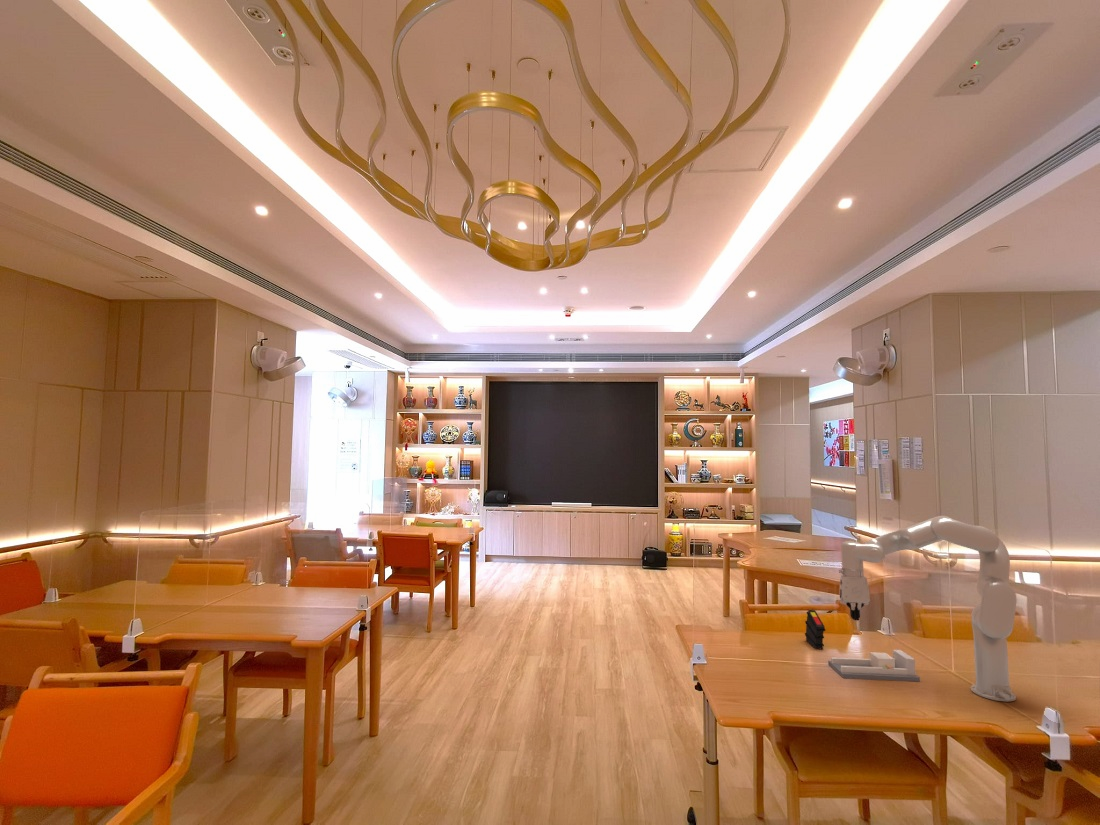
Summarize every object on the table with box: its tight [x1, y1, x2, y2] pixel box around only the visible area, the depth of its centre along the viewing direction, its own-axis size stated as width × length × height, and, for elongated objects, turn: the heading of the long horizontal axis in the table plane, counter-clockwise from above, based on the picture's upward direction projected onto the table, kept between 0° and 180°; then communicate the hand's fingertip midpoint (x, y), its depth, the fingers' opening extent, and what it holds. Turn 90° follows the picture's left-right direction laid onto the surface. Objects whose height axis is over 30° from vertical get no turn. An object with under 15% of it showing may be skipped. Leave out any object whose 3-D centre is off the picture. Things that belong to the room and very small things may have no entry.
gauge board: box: [827, 649, 921, 682], centre depth 216 cm, size 14×28×8 cm, turn 84°
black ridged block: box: [804, 609, 826, 650], centre depth 247 cm, size 4×13×15 cm, turn 177°
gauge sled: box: [869, 651, 895, 668], centre depth 216 cm, size 11×6×5 cm, turn 174°
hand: (855, 619), depth 218 cm, fingers closed
